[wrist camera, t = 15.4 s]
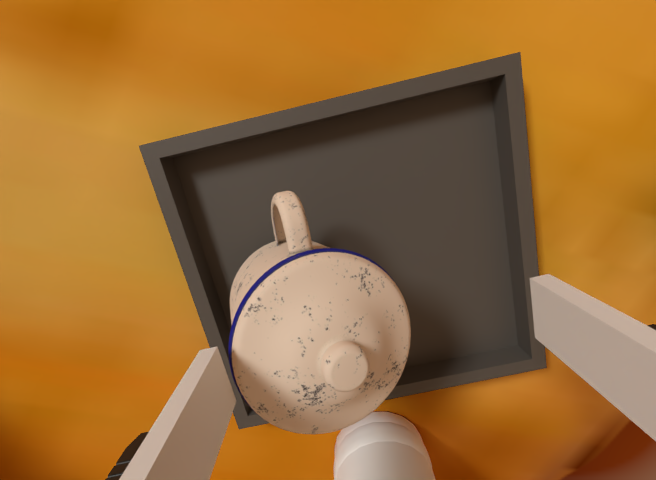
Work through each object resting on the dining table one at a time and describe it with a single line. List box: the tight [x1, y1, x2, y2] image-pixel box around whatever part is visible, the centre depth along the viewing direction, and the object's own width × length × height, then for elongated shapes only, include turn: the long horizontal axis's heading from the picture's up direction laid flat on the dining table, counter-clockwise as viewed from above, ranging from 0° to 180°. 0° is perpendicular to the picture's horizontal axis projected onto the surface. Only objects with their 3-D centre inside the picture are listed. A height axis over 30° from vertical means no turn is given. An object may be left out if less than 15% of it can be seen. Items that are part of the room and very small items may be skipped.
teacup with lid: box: [228, 191, 411, 434], centre depth 19 cm, size 12×9×12 cm
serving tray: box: [139, 52, 547, 429], centre depth 25 cm, size 24×22×2 cm
